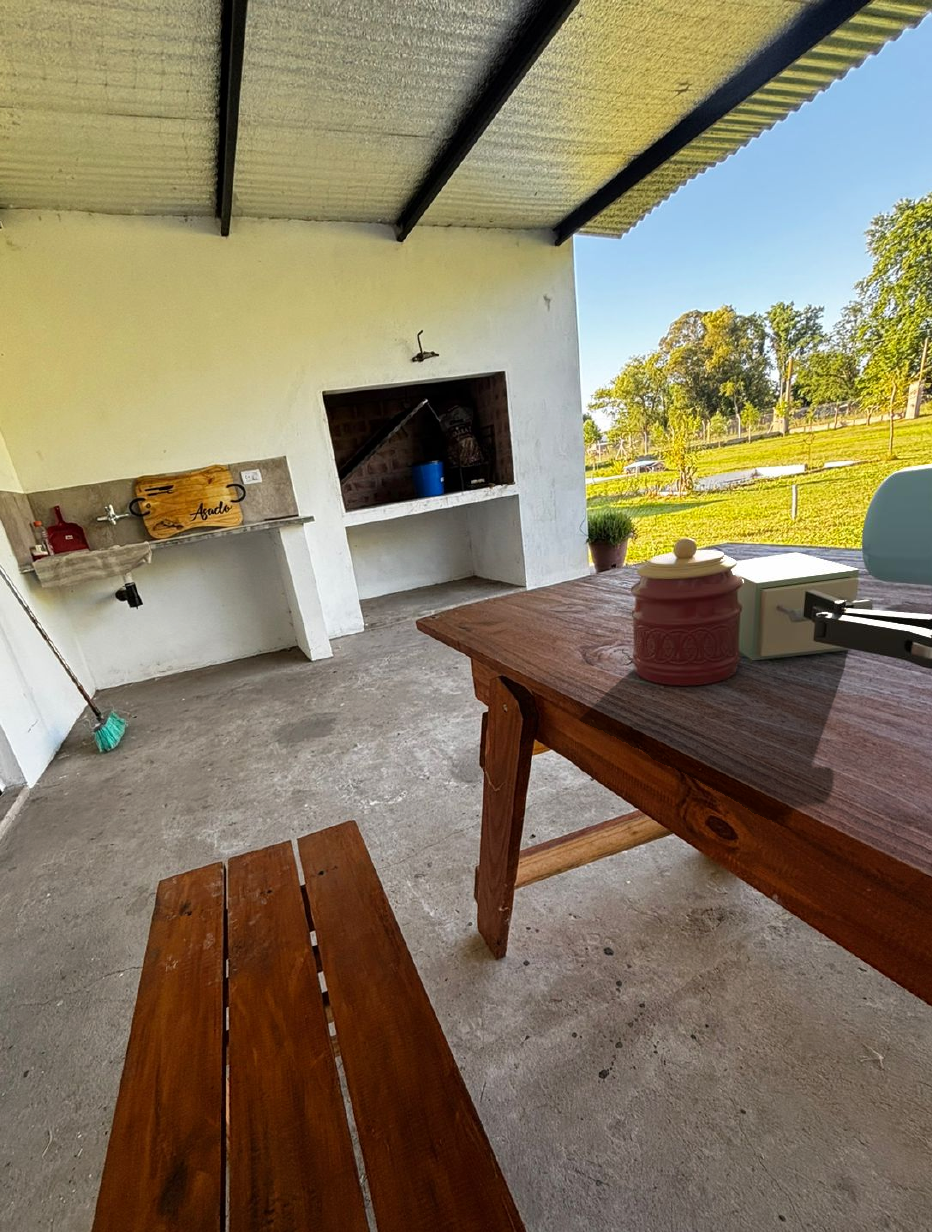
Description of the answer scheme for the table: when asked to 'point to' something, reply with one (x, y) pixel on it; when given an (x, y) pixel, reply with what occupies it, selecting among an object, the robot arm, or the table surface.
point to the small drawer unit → (771, 575)
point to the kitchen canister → (687, 617)
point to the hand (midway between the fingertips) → (883, 593)
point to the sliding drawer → (798, 615)
